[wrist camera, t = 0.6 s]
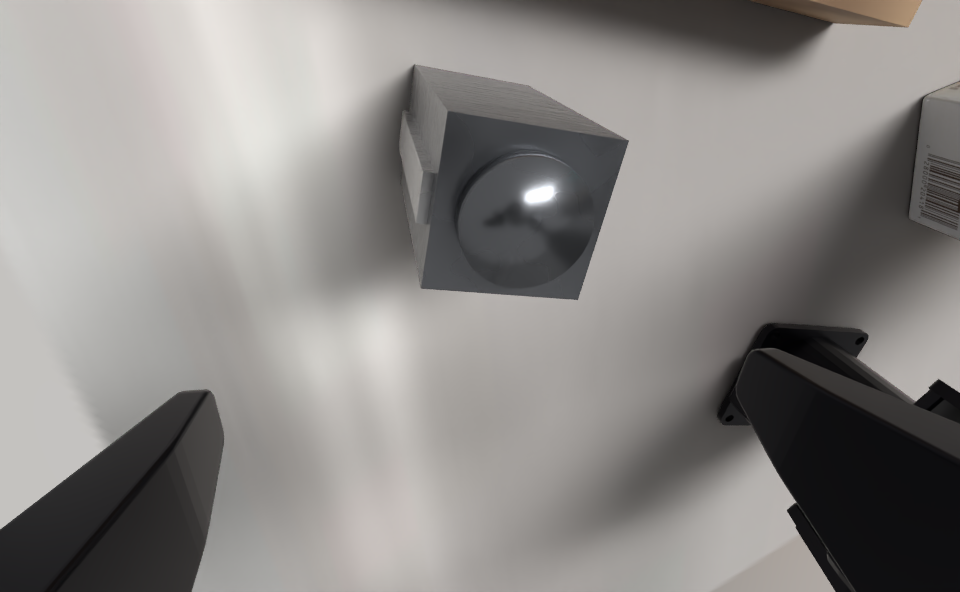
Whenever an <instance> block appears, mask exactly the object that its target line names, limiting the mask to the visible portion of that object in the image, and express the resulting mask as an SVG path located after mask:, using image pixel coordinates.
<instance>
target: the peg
mask: <svg viewBox="0 0 960 592" xmlns="http://www.w3.org/2000/svg"><path fill="white" fill-rule="evenodd" d="M628 142H629V141H628V140H626V139H625V138H623V137H621V136H619V135H617V134H615V133H614V132H612V131H610V130H608V129H606V128H605V127H603V126H601V125H599V124H597V123H595V122H594V121H592V120H590V119H588V118H586V117H584V116H583V115H581V114H579V113H577V112H575V111H574V110H572V109H570V108H568V107H566V106H564V105H563V104H561V103H559V102H557V101H555V100H553V99H552V98H550V97H548V96H546V95H544V94H543V93H541V92H539V91H537V90H535V89H533V88H532V87H530V86H527V85H522V84H516V83H511V82H506V81H500V80H495V79H490V78H484V77H479V76H473V75H468V74H463V73H457V72H452V71H447V70H441V69H436V68H430V67H425V66H420V65H414V72H413V80H412V89H411V97H410V106H409V111H405V110H403V113H402V122H401V131H400V140H399V150H400V154H401V159H402V163H403V166H402V174H401V187H402V192H403V197H404V203H405V208H406V213H407V218H408V224H409V229H410V234H411V239H412V245H413V250H414V255H415V260H416V266H417V271H418V276H419V281H420V287H421V288H422V289H435V290H449V291H463V292H477V293H491V294H504V295H518V296H532V297H546V298H560V299H574V300H578V298H579V294H580V291H581V288H582V285H583V282H584V279H585V276H586V273H587V269H588V266H589V263H590V260H591V257H592V254H593V251H594V248H595V245H596V241H597V238H598V235H599V232H600V229H601V226H602V223H603V220H604V217H605V213H606V210H607V207H608V204H609V201H610V198H611V195H612V192H613V188H614V185H615V182H616V179H617V176H618V173H619V170H620V167H621V164H622V160H623V157H624V154H625V151H626V148H627V145H628Z"/></svg>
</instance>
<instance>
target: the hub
mask: <svg viewBox="0 0 960 592" xmlns="http://www.w3.org/2000/svg"><path fill="white" fill-rule="evenodd" d="M748 1H752V2H756V3H760V4H764V5H767V6H771V7H775V8H779V9H783V10H786V11H790V12H794V13H798V14H802V15H805V16H809V17H813V18H817V19H821V20H824V21H828V22H832V23H840V24H858V25H875V26H893V27H909V25H910V23H911V21H912V19H913V17H914V15H915V13H916V12H917V10H918V8H919V6H920V4H921V2H922V0H748Z"/></svg>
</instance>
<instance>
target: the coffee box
mask: <svg viewBox="0 0 960 592" xmlns="http://www.w3.org/2000/svg"><path fill="white" fill-rule="evenodd" d="M909 219H911V220H913V221H915V222H917V223H920V224H922V225H924V226H927V227H929V228H931V229H934V230H936V231H939V232H941V233H944V234H946V235H948V236H951V237H953V238H956V239H958V240H960V82H957V83H955V84H952V85H950V86H947V87H945V88H942V89H940V90H938V91H935V92H933V93H931V94H929V95H927V96H925V98H924V100H923V104H922V111H921V119H920V127H919V135H918V144H917V152H916V160H915V169H914V178H913V185H912V195H911V203H910V210H909Z"/></svg>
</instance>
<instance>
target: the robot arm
mask: <svg viewBox="0 0 960 592" xmlns="http://www.w3.org/2000/svg"><path fill="white" fill-rule="evenodd" d="M867 340H868V334H867V333H865V332H864V331H862V330H860V329H853V328H838V327H823V326H808V325H793V324H778V323H772V324H769V325H767V326H766V327H764V328H763V330H762V331H761V333H760V335H759V337H758V339H757V341H756V342H755V344H754V346H753V348H752V350H751V352H750V353H749V354H748V355H747V357H746V360H745V362H744V365H743V367H742V369H741V371H740V372H739V374H738V376H737V378H736V380H735V382H734V384H733V386H732V387H731V389H730V391H729V393H728V395H727V397H726V399H725V400H724V402H723V404H722V406H721V408H720V410H719V412H718V414H717V418H718V420H719V421H720V422H721V423H722V424H723V425H751V426H752V427H753V428H754V430H755V432H756V434H757V436H758V438H759V440H760V442H761V444H762V445H763V447H764V449H765V451H766V453H767V455H768V457H769V459H770V460H771V462H772V464H773V466H774V468H775V469H776V471H777V473H778V474H779V476H780V478H781V479H782V481H783V482H784V484H785V486H786V487H787V489H788V490H789V492H790V493H791V495H792V496H793V498H794V499H795V501H796V502H797V503H794V504H793V505H792V506H791V507H790V508H789V509H787V512H788V513H789V515H790V517H791V518H792V520H793V521H794V523H795V525H796V529H797V531H798V532H799V534H800V536H801V537H802V539H803V540H804V542H805V544H806V545H807V546H808V548H809V550H810V551H811V553H812V555H813V556H814V558H815V559H816V561H817V563H818V564H819V566H820V567H821V569H822V570H823V572H824V574H825V575H826V577H827V579H828V580H829V582H830V583H831V585H832V586H833V588H834V590H835V591H836V592H960V393H959V392H958V391H956V390H955V389H953V388H951V387H950V386H948V385H947V384H945V383H944V382H942V381H941V380H939V379H938V380H937V381H936V382H934V383H933V384H932V385H931V386H930V387H929V389H930V390H929V391H928V392H927V393H926V394H924V395H923V396H922V397H921V398H920V399H919V400H917V401H914V400H913V399H911V398H910V397H909V396H907V395H906V394H905V393H903V392H902V391H901V390H899V389H898V388H897V387H895V386H894V385H892V384H891V383H890V382H888V381H887V380H886V379H884V378H883V377H882V376H880V375H879V374H877V373H876V372H875V371H873V370H872V369H871V368H869V367H868V366H867V365H865V364H864V363H863V362H861V361H860V360H858V359H857V358H856V357H857V356H858V354H859V353H860V351H861V350H862V348H863V347H864V345H865V344H866V342H867ZM223 446H224V431H223V427H222V423H221V419H220V416H219V412H218V408H217V405H216V401H215V397H214V395H213V394H212V392H211V391H209V390H207V389H204V390H190V391H182V392H179V393H177V394H176V395H174V396H173V397H172V398H170V399H169V400H168V401H167V402H165V403H164V404H163V405H161V406H160V407H159V408H158V409H156V410H155V411H154V412H152V413H151V414H150V415H148V416H147V417H146V418H145V419H143V420H142V421H141V422H139V423H138V424H137V425H135V426H134V427H133V428H132V429H130V430H129V431H128V432H126V433H125V434H124V435H122V436H121V437H120V438H119V439H117V440H116V441H115V442H113V443H112V444H111V445H109V446H108V447H107V448H106V449H104V450H103V451H102V452H100V453H99V454H98V455H96V456H95V457H94V458H93V459H91V460H90V461H89V462H88V463H86V464H85V465H83V466H82V467H81V468H80V469H78V470H77V471H76V472H74V473H73V474H72V475H70V476H69V477H68V478H67V479H66V480H64V481H63V482H62V483H60V484H59V485H57V486H56V487H55V488H54V489H52V490H51V491H50V492H48V493H47V494H46V495H45V496H43V497H42V498H41V499H39V500H38V501H37V502H35V503H34V504H33V505H32V506H30V507H29V508H28V509H26V510H25V511H24V512H22V513H21V514H20V515H19V516H17V517H16V518H15V519H13V520H12V521H11V522H10V523H8V524H7V525H6V526H4V527H3V528H2V529H0V592H192V588H193V585H194V582H195V578H196V575H197V572H198V568H199V565H200V562H201V558H202V555H203V551H204V547H205V544H206V539H207V534H208V529H209V524H210V519H211V513H212V507H213V502H214V496H215V491H216V485H217V479H218V474H219V468H220V463H221V457H222V452H223Z"/></svg>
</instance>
